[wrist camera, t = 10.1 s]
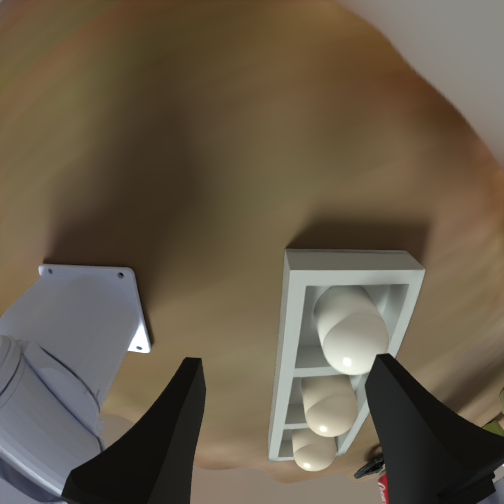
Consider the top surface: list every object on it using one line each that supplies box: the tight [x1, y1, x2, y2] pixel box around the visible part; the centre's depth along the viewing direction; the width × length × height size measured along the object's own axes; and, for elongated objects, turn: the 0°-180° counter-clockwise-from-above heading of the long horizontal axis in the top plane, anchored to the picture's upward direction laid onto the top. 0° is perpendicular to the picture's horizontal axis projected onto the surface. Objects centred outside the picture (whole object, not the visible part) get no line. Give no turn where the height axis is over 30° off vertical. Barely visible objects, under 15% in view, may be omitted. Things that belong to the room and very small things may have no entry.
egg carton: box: [268, 249, 425, 471], centre depth 21 cm, size 9×25×6 cm, turn 179°
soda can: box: [378, 470, 388, 504], centre depth 32 cm, size 7×7×13 cm
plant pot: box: [483, 420, 504, 436], centre depth 31 cm, size 9×9×9 cm
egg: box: [313, 285, 390, 375], centre depth 17 cm, size 4×4×6 cm
